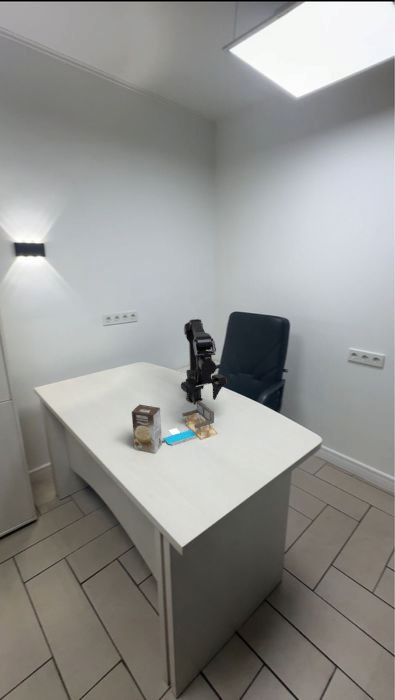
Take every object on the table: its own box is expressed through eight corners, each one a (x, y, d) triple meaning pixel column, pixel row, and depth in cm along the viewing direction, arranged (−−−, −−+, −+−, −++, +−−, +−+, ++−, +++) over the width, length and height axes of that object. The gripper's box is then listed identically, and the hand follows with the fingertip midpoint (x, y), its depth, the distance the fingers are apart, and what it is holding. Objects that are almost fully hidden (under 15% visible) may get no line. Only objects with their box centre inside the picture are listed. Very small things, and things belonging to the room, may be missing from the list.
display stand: (200, 419, 138) (200, 409, 137) (217, 434, 126) (217, 423, 125) (184, 424, 134) (184, 414, 133) (200, 439, 123) (200, 428, 121)
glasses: (199, 411, 135) (199, 400, 134) (214, 422, 125) (213, 411, 124) (182, 415, 131) (181, 405, 130) (195, 428, 121) (195, 417, 120)
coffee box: (133, 449, 117) (130, 411, 113) (142, 440, 123) (138, 404, 119) (155, 454, 114) (152, 414, 110) (163, 444, 120) (160, 407, 116)
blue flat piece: (193, 424, 136) (193, 420, 135) (206, 437, 125) (206, 433, 125) (150, 437, 126) (149, 433, 126) (161, 452, 116) (160, 448, 116)
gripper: (213, 357, 135) (213, 390, 139) (174, 365, 126) (175, 400, 131) (227, 364, 125) (227, 399, 130) (186, 373, 117) (187, 410, 121)
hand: (204, 402), depth 128 cm, fingers open, 9 cm apart
